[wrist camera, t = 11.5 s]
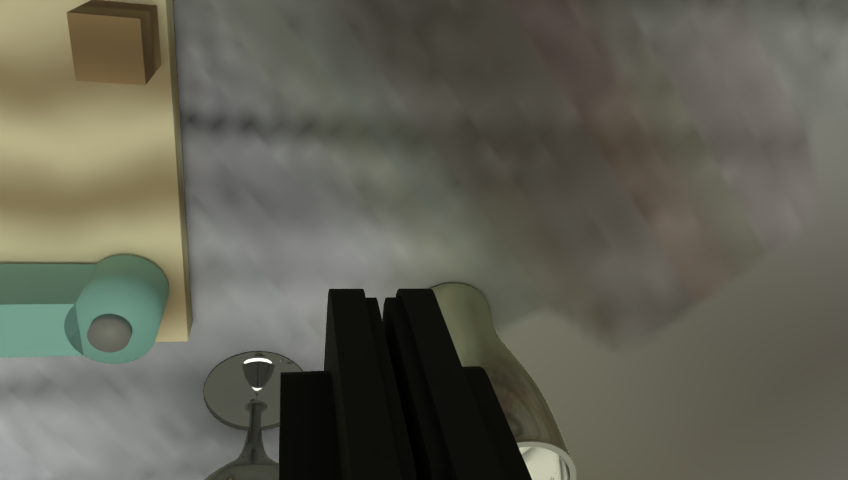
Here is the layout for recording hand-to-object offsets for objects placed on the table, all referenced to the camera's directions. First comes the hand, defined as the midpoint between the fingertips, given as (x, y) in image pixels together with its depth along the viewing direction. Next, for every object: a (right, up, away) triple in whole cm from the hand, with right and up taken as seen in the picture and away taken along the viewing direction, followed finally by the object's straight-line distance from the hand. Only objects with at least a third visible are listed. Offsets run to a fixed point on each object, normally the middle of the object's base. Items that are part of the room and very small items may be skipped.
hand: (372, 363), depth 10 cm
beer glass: (+2, -3, +34) cm, 34 cm away
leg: (-21, -1, +24) cm, 32 cm away
